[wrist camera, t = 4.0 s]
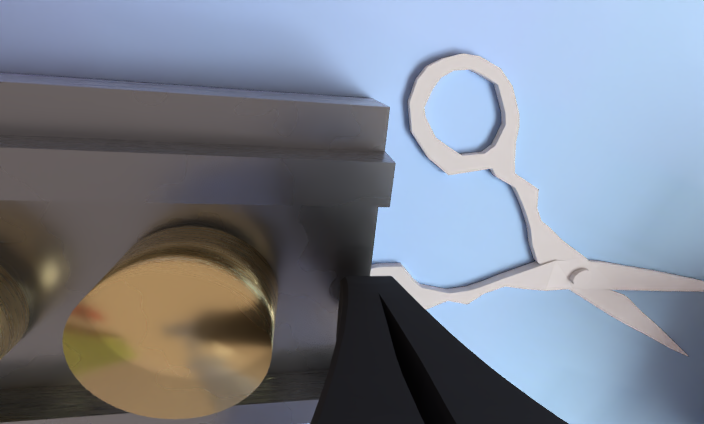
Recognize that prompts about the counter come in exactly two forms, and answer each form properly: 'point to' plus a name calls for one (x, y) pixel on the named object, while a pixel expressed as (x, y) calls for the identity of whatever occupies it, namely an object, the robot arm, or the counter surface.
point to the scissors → (546, 246)
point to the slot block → (182, 218)
